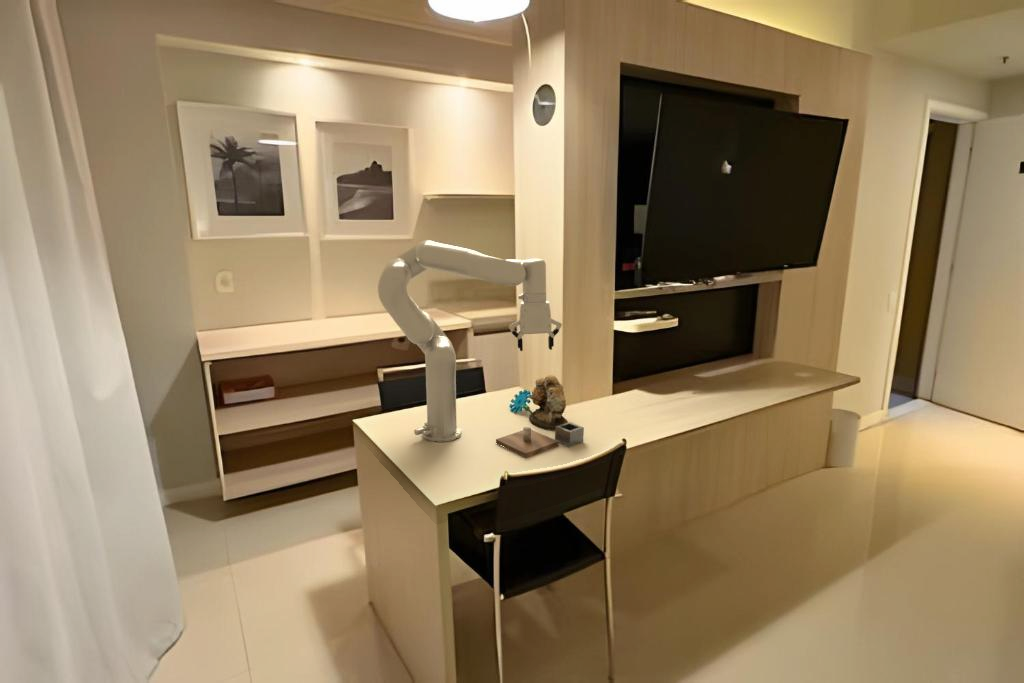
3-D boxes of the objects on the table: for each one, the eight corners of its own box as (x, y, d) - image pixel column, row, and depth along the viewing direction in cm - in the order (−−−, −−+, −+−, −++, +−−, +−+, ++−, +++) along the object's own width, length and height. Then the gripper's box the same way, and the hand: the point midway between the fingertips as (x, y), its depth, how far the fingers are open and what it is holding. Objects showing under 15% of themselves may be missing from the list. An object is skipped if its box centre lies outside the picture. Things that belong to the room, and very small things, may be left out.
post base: (525, 458, 166) (525, 440, 165) (495, 443, 176) (495, 427, 175) (558, 445, 175) (558, 429, 174) (528, 432, 185) (528, 417, 184)
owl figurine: (519, 417, 199) (519, 372, 196) (545, 411, 206) (546, 367, 202) (549, 433, 185) (550, 384, 181) (576, 426, 191) (578, 379, 188)
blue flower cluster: (504, 403, 209) (523, 384, 209) (514, 411, 212) (532, 393, 212) (515, 416, 200) (534, 397, 200) (525, 425, 202) (544, 406, 202)
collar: (569, 447, 174) (570, 432, 173) (555, 441, 179) (555, 426, 178) (583, 442, 178) (583, 427, 177) (568, 436, 183) (569, 421, 182)
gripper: (508, 301, 174) (510, 353, 178) (563, 298, 175) (563, 351, 179) (507, 297, 181) (508, 348, 185) (559, 295, 183) (559, 345, 187)
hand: (535, 349), depth 182 cm, fingers open, 9 cm apart
